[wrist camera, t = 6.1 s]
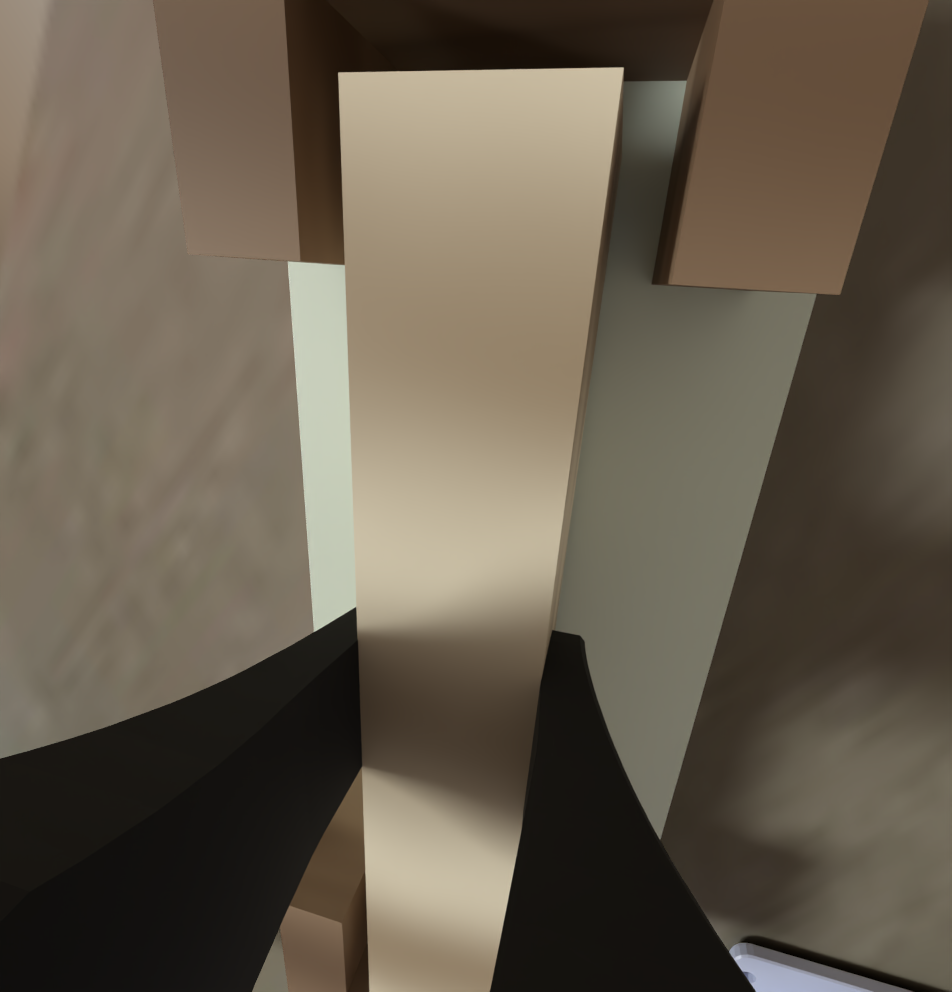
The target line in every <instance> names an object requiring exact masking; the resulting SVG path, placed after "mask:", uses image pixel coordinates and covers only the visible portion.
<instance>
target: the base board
mask: <svg viewBox="0 0 952 992" xmlns="http://www.w3.org/2000/svg"><path fill="white" fill-rule="evenodd" d="M686 82H687V81H624V82H623V128H622V160H621V167H620V174H619V181H618V188H617V195H616V202H615V209H614V217H613V224H612V231H611V238H610V245H609V252H608V259H607V266H606V273H605V280H604V287H603V295H602V302H601V309H600V316H599V323H598V330H597V337H596V344H595V351H594V358H593V365H592V372H591V380H590V387H589V394H588V401H587V408H586V415H585V422H584V429H583V436H582V443H581V450H580V458H579V465H578V472H577V479H576V486H575V493H574V500H573V507H572V514H571V521H570V528H569V536H568V543H567V550H566V557H565V564H564V571H563V578H562V585H561V592H560V599H559V606H558V614H557V621H556V628H555V631H560V632H565V633H570V634H575V635H580V636H581V637H582V639H583V640H584V641H585V650H586V657H587V662H588V667H589V671H590V675H591V679H592V682H593V686H594V690H595V693H596V696H597V699H598V702H599V705H600V708H601V711H602V714H603V717H604V719H605V722H606V725H607V728H608V731H609V733H610V736H611V738H612V741H613V743H614V746H615V748H616V751H617V753H618V755H619V758H620V760H621V762H622V765H623V767H624V769H625V772H626V774H627V776H628V778H629V780H630V783H631V785H632V787H633V789H634V791H635V793H636V795H637V797H638V799H639V801H640V803H641V805H642V807H643V809H644V811H645V813H646V815H647V817H648V819H649V821H650V823H651V825H652V827H653V828H654V830H655V832H656V834H657V836H658V837H659V839H661V836H662V832H663V829H664V825H665V822H666V818H667V815H668V811H669V808H670V804H671V801H672V797H673V794H674V790H675V787H676V783H677V780H678V776H679V773H680V769H681V766H682V762H683V759H684V755H685V752H686V748H687V745H688V742H689V738H690V735H691V731H692V728H693V724H694V721H695V717H696V714H697V710H698V707H699V703H700V700H701V696H702V693H703V689H704V686H705V682H706V679H707V675H708V672H709V668H710V665H711V661H712V658H713V654H714V651H715V647H716V644H717V640H718V637H719V633H720V630H721V626H722V623H723V619H724V616H725V612H726V609H727V605H728V602H729V598H730V595H731V591H732V588H733V584H734V581H735V577H736V574H737V570H738V567H739V564H740V560H741V557H742V553H743V550H744V546H745V543H746V539H747V536H748V532H749V529H750V525H751V522H752V518H753V515H754V511H755V508H756V504H757V501H758V497H759V494H760V490H761V487H762V483H763V480H764V476H765V473H766V469H767V466H768V462H769V459H770V455H771V452H772V448H773V445H774V441H775V438H776V434H777V431H778V427H779V424H780V420H781V417H782V413H783V410H784V406H785V403H786V399H787V396H788V392H789V389H790V386H791V382H792V379H793V375H794V372H795V368H796V365H797V361H798V358H799V354H800V351H801V347H802V344H803V340H804V337H805V333H806V330H807V326H808V323H809V319H810V316H811V312H812V309H813V305H814V302H815V298H816V295H817V294H808V293H786V292H763V291H744V290H728V289H712V288H696V287H680V286H664V285H651V284H652V279H653V273H654V267H655V261H656V256H657V250H658V244H659V238H660V232H661V227H662V221H663V215H664V209H665V204H666V198H667V192H668V186H669V180H670V175H671V169H672V163H673V157H674V152H675V146H676V140H677V134H678V128H679V123H680V117H681V111H682V105H683V100H684V94H685V88H686ZM288 271H289V285H290V299H291V313H292V327H293V341H294V355H295V369H296V384H297V398H298V412H299V426H300V440H301V454H302V468H303V482H304V496H305V510H306V524H307V538H308V552H309V567H310V581H311V595H312V609H313V623H314V632H315V631H317V630H319V629H320V628H322V627H324V626H325V625H327V624H329V623H330V622H332V621H334V620H335V619H337V618H339V617H340V616H342V615H343V614H345V613H347V612H348V611H350V610H352V609H353V608H355V607H356V580H355V551H354V521H353V492H352V462H351V433H350V403H349V374H348V345H347V315H346V286H345V265H331V264H317V263H303V262H289V261H288Z"/></svg>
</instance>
